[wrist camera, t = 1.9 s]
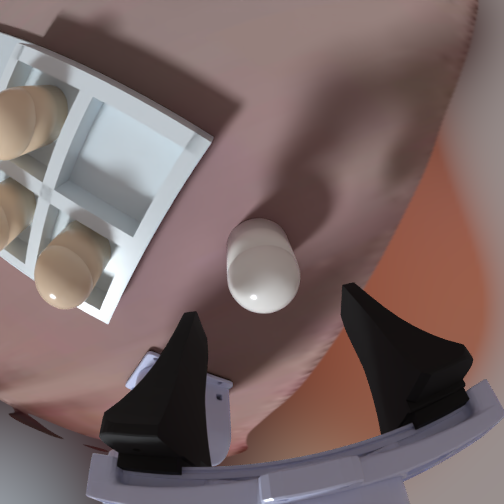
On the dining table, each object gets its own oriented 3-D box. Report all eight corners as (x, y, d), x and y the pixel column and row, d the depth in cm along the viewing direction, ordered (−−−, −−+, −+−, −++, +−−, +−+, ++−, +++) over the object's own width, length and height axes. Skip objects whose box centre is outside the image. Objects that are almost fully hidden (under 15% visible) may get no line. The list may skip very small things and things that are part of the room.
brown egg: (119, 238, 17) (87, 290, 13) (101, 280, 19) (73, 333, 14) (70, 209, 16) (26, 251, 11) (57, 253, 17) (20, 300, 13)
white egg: (299, 238, 19) (324, 289, 14) (263, 280, 21) (274, 337, 16) (250, 206, 18) (260, 251, 13) (214, 254, 19) (212, 309, 14)
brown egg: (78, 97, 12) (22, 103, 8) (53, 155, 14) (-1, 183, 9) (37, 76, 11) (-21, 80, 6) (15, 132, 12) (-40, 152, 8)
